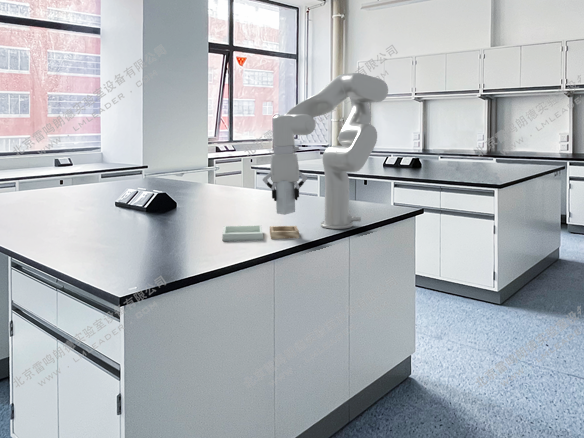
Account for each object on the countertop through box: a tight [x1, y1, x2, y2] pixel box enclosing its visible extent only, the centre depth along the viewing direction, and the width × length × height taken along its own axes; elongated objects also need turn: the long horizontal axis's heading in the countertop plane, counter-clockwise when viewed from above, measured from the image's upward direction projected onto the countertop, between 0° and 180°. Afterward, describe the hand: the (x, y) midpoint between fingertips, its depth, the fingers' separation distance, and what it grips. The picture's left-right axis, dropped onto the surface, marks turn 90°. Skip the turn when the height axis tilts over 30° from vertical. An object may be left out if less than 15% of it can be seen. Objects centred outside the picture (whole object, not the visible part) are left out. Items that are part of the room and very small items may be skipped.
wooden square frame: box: [269, 225, 300, 240], centre depth 193 cm, size 10×10×2 cm
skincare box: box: [275, 181, 296, 215], centre depth 191 cm, size 6×4×12 cm
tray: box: [222, 225, 264, 242], centre depth 192 cm, size 14×14×2 cm
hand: (285, 199), depth 192 cm, fingers closed on skincare box, 7 cm apart
